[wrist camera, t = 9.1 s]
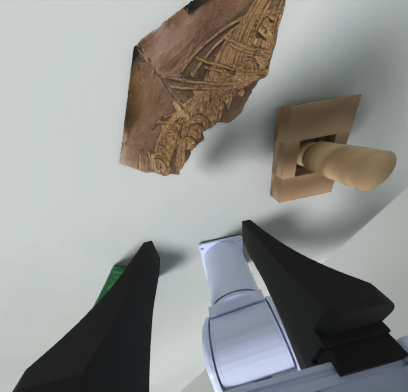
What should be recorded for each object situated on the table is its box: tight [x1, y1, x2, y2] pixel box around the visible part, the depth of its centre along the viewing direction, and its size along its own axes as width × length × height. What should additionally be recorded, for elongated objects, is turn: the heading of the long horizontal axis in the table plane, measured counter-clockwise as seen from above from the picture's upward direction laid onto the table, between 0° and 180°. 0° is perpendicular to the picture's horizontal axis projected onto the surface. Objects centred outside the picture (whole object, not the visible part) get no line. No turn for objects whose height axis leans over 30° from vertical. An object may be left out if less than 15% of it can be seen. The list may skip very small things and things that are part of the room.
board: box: [270, 94, 361, 203], centre depth 19 cm, size 12×8×2 cm, turn 9°
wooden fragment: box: [119, 0, 285, 176], centre depth 15 cm, size 26×11×1 cm, turn 133°
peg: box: [297, 140, 396, 191], centre depth 16 cm, size 4×4×9 cm
